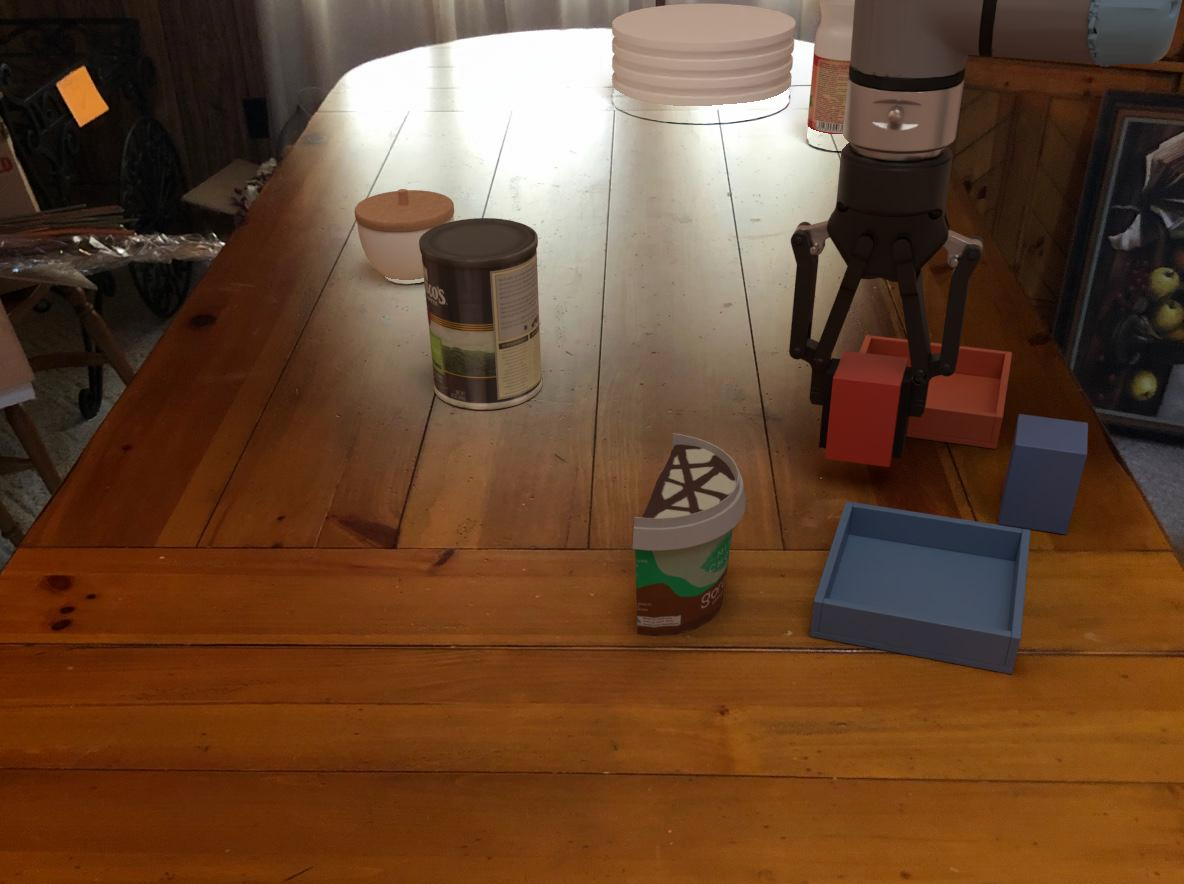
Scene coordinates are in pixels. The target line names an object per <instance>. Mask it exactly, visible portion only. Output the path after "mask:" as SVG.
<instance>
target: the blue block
mask: <svg viewBox="0 0 1184 884" xmlns="http://www.w3.org/2000/svg"><path fill="white" fill-rule="evenodd" d="M1088 437H1089V423H1088V422H1085V421H1076V420H1069V419H1062V418H1061V419H1060V418H1052V417H1047V416H1038V415H1030V414H1023V413H1019V414H1018V416H1017V421H1016V424H1015V430H1014V435H1013V440H1012V443H1011V448H1010V449H1011V450H1010V452H1009V457H1008V461H1007V463H1008V464H1007V467H1006V472H1005V476H1004V480H1003V486H1002V491H1001V497H1000V503H999V504H1000V505H999V511H998V519H997V525H1002V526H1008V527H1015V528H1021V529H1027V530H1031V531H1032V530H1034V531H1038V532H1039V531H1040V532H1046V533H1051V534H1058V535H1065V536H1066V535H1067V534H1068V530H1069V526H1070V523H1071V519H1072V516H1073V511H1074V507H1075V505H1076V499H1077V496H1078V492H1079V489H1080V488H1079V487H1080V484H1081V480H1082V477H1083V473H1084V469H1085V464H1086V462H1087V457H1088V444H1089V443H1088V440H1089V439H1088Z"/></svg>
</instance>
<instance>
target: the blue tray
mask: <svg viewBox="0 0 1184 884" xmlns="http://www.w3.org/2000/svg"><path fill="white" fill-rule="evenodd" d="M1031 533H1032V529H1026V528H1019V527H1013V526H1006V525H1000V524H995V523H989V522H983V521H977V520H969V519H963V518H957V517H950V516H944V515H937V514H931V513H924V512H918V511H912V510H906V509H899V508H893V507H886V506H882V505H881V506H880V505H874V504H866V503H861V502H854V501H845V502H844V505H843V508H842V512H841V515H840V518H839V521H838V524H837V527H836V530H835V533H834V536H833V539H832V542H831V546H830V549H829V551H828V555H827V558H826V561H825V564H824V568H823V571H822V574H821V577H820V580H819V584H818V586H817V589H816V592H815V595H814V598H813V602H812V611H811V621H810V628H809V629H810V630H809V637H812V638H815V639H816V638H817V639H821V640H828V641H832V642H838V643H841V644H842V643H843V644H849V645H852V646H853V645H854V646H859V647H864V648H869V649H875V650H880V651H885V652H891V653H897V654H900V655H901V654H902V655H907V656H911V657H912V656H913V657H917V658H923V659H928V660H934V661H939V662H943V663H949V664H955V665H960V666H965V667H969V668H970V667H971V668H974V669H975V668H976V669H981V670H987V671H991V672H996V673H1002V674H1008V675H1013V673H1014V668H1015V664H1016V660H1017V656H1018V651H1019V649H1020V644H1021V640H1022V632H1023V620H1024V608H1025V598H1026V587H1027V576H1028V567H1029V566H1028V565H1029V557H1030V556H1029V554H1030V553H1029V552H1030V544H1031V535H1032V534H1031Z"/></svg>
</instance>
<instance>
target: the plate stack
mask: <svg viewBox="0 0 1184 884" xmlns="http://www.w3.org/2000/svg"><path fill="white" fill-rule="evenodd" d="M796 26H797V23H796V19H795V18H794V17H792V16H791V15H789V14H787V13H785V12H782V11H778V10H775V9H770V8H765V7H760V6H754V5H753V6H752V5H746V4H745V5H744V4H733V3H680V4H668V5H658V6H651V7H650V6H649V7H645V8H640V9H635V10H631V11H628V12H625V13H623V14H620V15H619V16H617V17H615V18H614V19H613V20H612V23H611V33H612V35H613V36H614V37H613V38H612V41H611V51H612V54H613V56H612V58H611V68H612V70H613V73H612V75H611V76H612V77H611V78H612V79H611V80H612V81H611V82H612V83H613V85H612V87H613V86H614V88H615V89H616V90H617V91H619V92H620V93H622V94H624V95H625V96H628V97H630V98H633V99H636V100H640V101H644V102H649V103H655V104H663V105H673V106H712V105H723V104H737V103H747V102H754V101H760V100H765V99H768V98H771V97H774V96H777V95H779V94H781V93H783V92H784V91H786V90H787V89H788V88H789V87H790V88H791V86H792V78H793V76H792V73H791V71H792V69H793V63H794V57H793V55H792V54H793V52H794V49H795V39H794V35H795V33H796ZM612 83H611V84H612ZM790 85H791V86H790ZM614 88H613V89H614ZM790 88H789V89H790Z"/></svg>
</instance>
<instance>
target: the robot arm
mask: <svg viewBox="0 0 1184 884" xmlns="http://www.w3.org/2000/svg"><path fill="white" fill-rule="evenodd" d="M1182 3H1183V0H855V6H854V19H853V31H852V44H851V57H850V66H849V77H848V86H847V96H846V106H845V116H844V126H843V136H844V138H845V139H846V140H847V141H848V142H849V143H848V144H846V146H845V147H844V148H843V149H842V151H841V152H840V157H839V158H840V159H839V168H838V180H837V181H838V182H837V190H836V203H835V207H834V210H833V211H832V213H831V214H830V216H829V218H828V219H827V220H825V221H820V222H817V223H813V224H811V223H810V222H809V221H801V222H799V224H798V225H797V227H796V229H795V230H794V232H793V233H792V235H791V237H790V245H791V248H792V253H793V255H794V260H795V263H796V270H795V278H794V280H795V281H794V291H793V301H792V303H793V304H792V314H791V324H790V325H791V326H790V337H789V348H788V353H789V356H790V358H792V359H793V360H803V361H805V362H806V363H808V364H809V366H810V368H811V375H810V376H811V378H810V389H809V401H810V404H811V405H813V406H814V405H815V406H822V407H821V419H820V429H819V440H818V448H820V449H826V444H827V434H828V424H829V414H830V404H831V394H832V384H833V377H834V374H835V372H836V369H837V367H838V364H839V362H840V360H841V358H837V357H832V356H833V352H834V350H835V347H836V344H837V342H838V339H839V337H840V334H841V332H842V329H843V327H844V324H845V321H846V319H847V316H848V314H849V312H850V308H851V306H852V303H853V301H854V299H855V296H856V293H857V291H858V288H859V285H860V282H861V281H862V280H874V279H882V280H886V281H889V282H891V283H897V285H898V292H899V296H900V298H901V304H902V310H903V311H902V312H903V319H904V326H905V332H906V333H905V334H906V340H908V347H909V354H910V361H911V367H908V366H907V367H906V370H905V373H904V377H903V380H902V386H901V393H900V400H899V408H898V415H897V422H896V430H895V437H894V444H893V452H892V459H893V458H894V459H902V457H903V453H904V449H905V446H906V443H907V442H906V441H907V437H906V436H907V428H908V421H909V416H912V417H921V416H922V414H923V413H924V410H925V406H926V401H927V394H928V387H929V381H930V379H931V378H933V377H935V376H939V375H943V376H951V375H952V374H953V373H954V372H955V369H956V364H957V360H958V355H959V348H960V346H961V340H962V334H963V328H964V322H965V314H966V307H967V300H968V294H969V293H968V292H969V286H970V279H971V277H972V275H973V273H974V271H975V269H976V267H977V266H978V264H979V263H980V260H981V257H982V255H983V250H984V245H985V242H984V239H983V237H981V236H979V235H972V236H970V237H967V236H965V235H962V234H961V233H958V232H956V231H954V230H951V225H950V221H949V219H948V217H947V213H946V210H947V209H946V208H947V202H948V201H947V200H948V193H949V187H950V179H951V173H952V168H953V167H952V166H953V159H954V154H953V152H952V151H951V149H950V147H949V146H950V145H951V144H953V143H954V142H955V140H956V139H957V134H958V133H957V132H958V126H959V121H960V112H961V106H962V105H961V104H962V99H963V92H964V86H965V75H966V64H967V60H968V57H969V56H978V57H983V58H984V57H985V58H992V57H993V58H995V57H996V58H1010V59H1023V60H1024V59H1025V60H1036V61H1037V60H1039V61H1054V62H1066V63H1067V62H1070V63H1080V64H1081V63H1082V64H1096V65H1099V67H1111V66H1113V65H1150V64H1155V63H1158V62H1159V61H1160V60H1162V59H1163V58H1164V57H1165V56H1166V55H1167V54H1168V52H1169V50H1170V48H1171V45H1172V42H1173V39H1174V35H1175V31H1176V28H1177V23H1178V20H1179V16H1180V11H1181V7H1182ZM828 239H830V240H831V242H832V243H833V245H834V246H835V248H836V250H837V252H838V253H839V255H840V256H841V258H842V260H843V261H844V263H845V265H846V266H847V267H846V269H845V272H844V274H843V277H842V279H841V282H840V285H839V288H838V290H837V293H836V296H835V299H834V302H833V304H832V307H831V310H830V312H829V315H828V317H827V320H826V322H825V325H824V328H823V330H822V333H821V336H820V338H819V341H817V340H815V339H813V338H812V330H813V328H812V327H813V319H814V308H815V301H816V300H815V299H816V289H817V279H818V269H819V257H820V255H821V254H822V253H823V251H824V249H825V248H826V240H828ZM942 248H944V249H945V251H946V252H947V257H946V263H947V265H948V267H950V268H952V269H953V271H952V274H951V278H950V282H949V289H948V296H947V303H946V311H945V318H944V324H943V325H944V326H943V332H942V341H941V344H942V346H941V353H936V354H932V352H931V345H930V342H931V338H930V331H929V324H928V323H929V322H928V315H927V308H926V307H927V306H926V299H925V294H924V293H925V292H924V285H923V270H922V268H923V267H924V266H925V265H926V264H927V263H928V262H929V261H930V260H931V259H932V258H934V256H935V255H936V254H937V253H938V252H939V251H940V250H941V249H942Z"/></svg>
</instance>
